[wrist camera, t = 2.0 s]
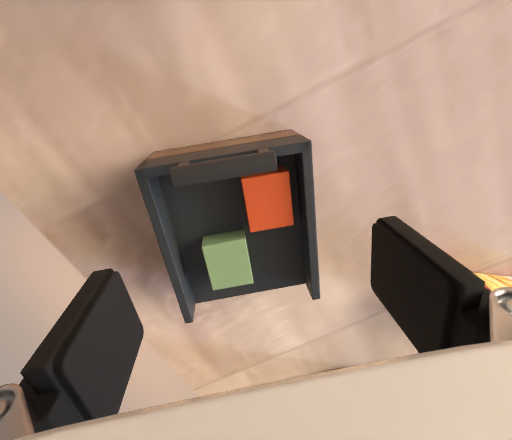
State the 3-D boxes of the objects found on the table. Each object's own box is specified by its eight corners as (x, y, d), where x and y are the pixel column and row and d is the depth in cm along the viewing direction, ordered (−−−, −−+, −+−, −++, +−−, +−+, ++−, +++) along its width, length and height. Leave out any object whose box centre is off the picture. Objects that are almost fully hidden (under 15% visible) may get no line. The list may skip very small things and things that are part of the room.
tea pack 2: (239, 172, 25) (241, 179, 23) (284, 165, 25) (289, 171, 23) (248, 223, 27) (250, 233, 25) (289, 216, 27) (294, 225, 25)
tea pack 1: (202, 236, 27) (201, 246, 25) (244, 228, 27) (245, 238, 25) (213, 278, 29) (212, 290, 27) (251, 271, 29) (253, 283, 28)
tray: (143, 156, 24) (117, 178, 18) (300, 130, 24) (325, 143, 19) (188, 301, 31) (180, 351, 25) (311, 278, 31) (331, 323, 25)
